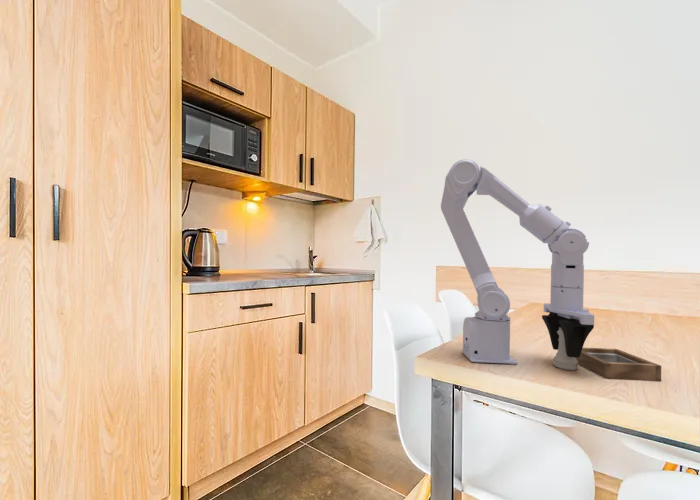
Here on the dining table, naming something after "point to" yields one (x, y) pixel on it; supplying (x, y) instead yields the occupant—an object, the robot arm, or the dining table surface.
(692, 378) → the dining table surface
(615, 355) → the box
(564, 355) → the rook chess piece
